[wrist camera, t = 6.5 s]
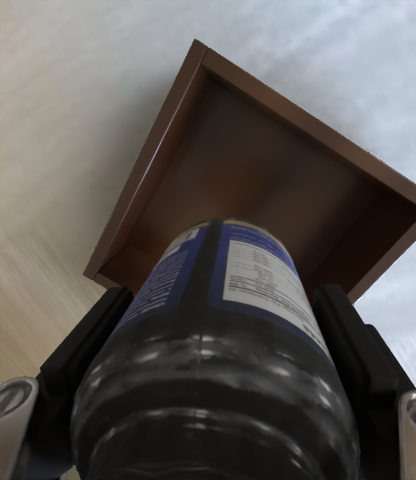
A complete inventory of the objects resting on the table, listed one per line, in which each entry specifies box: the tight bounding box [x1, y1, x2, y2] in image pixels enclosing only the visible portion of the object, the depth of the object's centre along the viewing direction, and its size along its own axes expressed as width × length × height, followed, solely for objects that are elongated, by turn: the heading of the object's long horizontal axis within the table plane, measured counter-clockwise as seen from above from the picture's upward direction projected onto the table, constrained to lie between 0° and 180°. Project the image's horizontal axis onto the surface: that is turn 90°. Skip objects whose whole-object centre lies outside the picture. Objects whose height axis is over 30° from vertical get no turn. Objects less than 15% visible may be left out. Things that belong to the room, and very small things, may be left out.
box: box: [83, 39, 416, 311], centre depth 20 cm, size 16×16×6 cm
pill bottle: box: [70, 218, 361, 480], centre depth 8 cm, size 6×6×11 cm
